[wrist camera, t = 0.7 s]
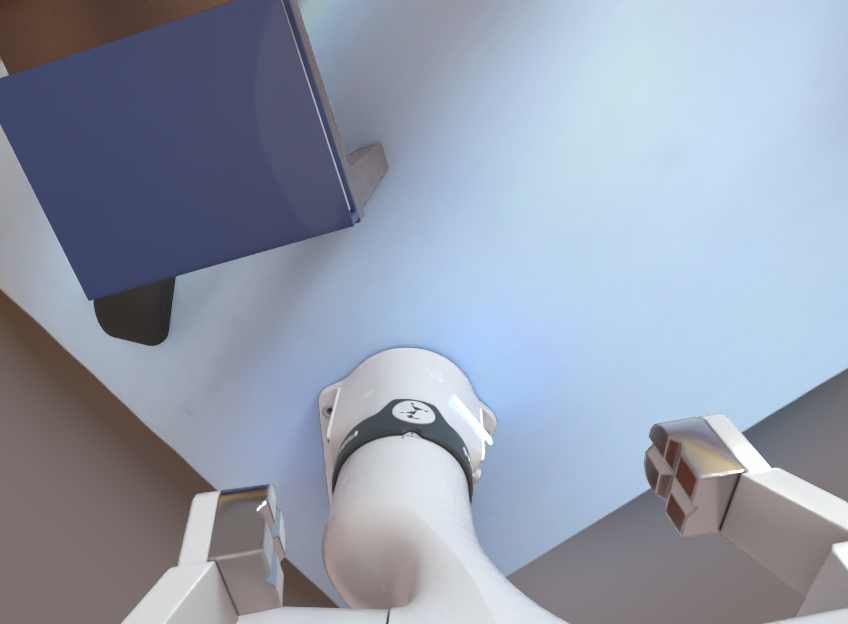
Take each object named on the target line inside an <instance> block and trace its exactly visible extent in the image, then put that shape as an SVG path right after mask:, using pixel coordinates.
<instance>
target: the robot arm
mask: <svg viewBox="0 0 848 624" xmlns="http://www.w3.org/2000/svg"><path fill="white" fill-rule="evenodd" d="M318 404H319V413H320V422H321V432H322V441H323V450H324V460H325V469H326V478H327V488H328V497H329V505H330V510H329V514H328V518H327V522H326V526H325V530H324V534H323V539H322V557H323V562H324V566H325V569H326V572H327V574H328V577H329V579H330V580H331V582H332V584H333V586H334V588H335V589H336V591H337V592H338V594H339V595H340V597H341V598H342V599H343V601H344V602H345V603H346V604H347V605H348V607H349V608H350V609H349V608H313V607H282V600H283V584H284V575H283V571H282V568H281V565H280V562H281V561H282V559H283V558H284V557H285V544H286V541H285V526H284V521H283V516H282V512H281V509H279V508H277V507H276V496H277V495H276V492H275V489H274V486H273V484H266V485H258V486H251V487H243V488H235V489H227V490H222V491H214V492H207V493H200V494H196V495H195V497H194V499H193V500H192V503H191V508H190V512H189V517H188V521H187V525H186V530H185V534H184V539H183V543H182V547H181V552H180V556H179V561H178V565H177V567H173V568H169V569H168V570H167V572H166V573H165V574H164V575H163V576H162V577H161V578H160V580H159V581H158V582H157V583H156V584H155V585H154V587H153V588H152V589H151V590H150V591H149V592H148V593H147V594H146V596H145V597H144V598H143V599H142V600H141V601H140V602H139V603H138V605H137V606H136V607H135V608H134V609H133V610H132V612H131V613H130V614H129V615H128V616H127V617H126V618H125V619H124V621H123V622H122V623H121V624H570V623H568V622H566V621H564V620H562V619H560V618H559V617H557V616H555V615H553V614H552V613H550V612H548V611H547V610H545V609H543V608H542V607H540V606H539V605H538V604H536V603H535V602H533V601H532V600H531V599H529V598H528V597H526V596H525V595H524V594H523V593H522V592H521V591H519V590H518V589H517V588H516V587H514V586H513V585H512V584H511V583H510V582H509V581H508V580H507V579H506V578H505V577H504V576H503V575H502V574H501V573H500V572H499V571H498V570H497V568H496V567H495V566H494V565H493V564H492V562H491V561H490V560H489V559H488V558H487V556H486V555H485V553H484V552H483V550H482V549H481V547H480V545H479V543H478V540H477V536H476V532H475V528H474V524H473V519H472V514H471V504H472V500H473V485H474V482H478V481H479V479H480V475H481V469H480V468H478V466H479V463H480V462H482V461H484V458H485V450H486V448H487V446H488V444H490V445H491V444H493V442H492V438H491V437H492V435H493V433H494V431H495V429H496V416H495V415H494V413H493V412H492V411H491V410H490V409H489V408H488V407H487V406H485V405H484V404H483V403H482V402H481V401H479V399H478V398H477V396H476V394H475V392H474V390H473V388H472V386H471V384H470V382H469V380H468V379H467V377H466V376H465V375H464V373H463V372H462V371H461V370H460V369H459V368H458V367H457V366H456V365H455V364H454V363H452V362H451V361H450V360H448V359H446V358H445V357H443V356H441V355H439V354H437V353H434V352H431V351H428V350H424V349H419V348H395V349H390V350H386V351H383V352H380V353H378V354H375V355H373V356H371V357H370V358H368V359H367V360H365V361H364V362H362V363H361V364H360V365H359V366H358V367H357V368H356V369H355V370H354V371H353V372H352V373H351V374H350V375H349V376H348V377H346V378H345V379H344V380H342V381H339V382H337V383H334V384H332V385H330V386H328V387H326V388H324V389H323V390H322V391H321V392H320V394H319V400H318ZM330 407H331V408H333V410H332V411H329V410H328V408H330ZM649 438H650V439H651V441H652V442H653V445H652V446H651V447H650V448H649V449H648V450H647V451H646V453H645V459H644V467H645V474H646V477H647V480H648V482H649V485H650V487H651V488H652V490H653V492H654V494H656V495H657V496H659V497H660V498H662V499H663V500H665V501H667V505H666V510H665V512H666V514H667V515H668V517H669V518H670V520H671V522H672V523H673V525H674V527H675V528H676V530H677V531H678V533H679V535H680V537H681V538H682V537H689V536H696V535H703V534H710V533H716V532H720V535H721V536H723V537H724V538H725V539H727V540H728V541H730V542H731V543H732V544H734V545H735V546H737V547H738V548H739V549H740V550H742V551H743V552H744V553H746V554H747V555H748V556H750V557H751V558H752V559H754V560H755V561H757V562H758V563H759V564H761V565H762V566H763V567H765V568H766V569H767V570H769V571H770V572H771V573H773V574H774V575H775V576H777V577H778V578H779V579H781V580H782V581H783V582H785V583H786V584H788V585H789V586H790V587H792V588H793V589H794V590H796V591H797V592H799V593H800V594H801V595H802V596H804V599H803V601H802V603H801V605H800V606H799V608H798V610H797V612H796V614H795V617H794V618H791V619H785V620H780V621H775V622H770V623H765V624H848V502H845V501H844V500H842V499H840V498H838V497H836V496H833V495H832V494H830V493H828V492H826V491H823V490H822V489H819V488H818V487H816V486H814V485H812V484H810V483H808V482H806V481H804V480H802V479H800V478H798V477H796V476H794V475H792V474H790V473H788V472H786V471H784V470H782V469H780V468H771V467H770V466H769V465H768V464H767V462H766V461H765V460H764V459H763V458H762V457H761V456H760V455H759V453H758V452H757V451H756V450H755V448H754V447H753V446H752V445H751V444H750V443H749V442H748V440H747V439H746V438H745V437H744V436H743V434H742V433H741V432H740V431H739V430H738V429H737V427H736V426H735V425H734V424H733V423H732V422H731V420H730V419H729V418H728V417H727V416H725V415H723V414H722V413H720V414H714V415H708V416H701V417H698V418H697V417H694V418H688V419H682V420H676V421H670V422H664V423H658V424H654V425H653V427H652V428H651V430H650V435H649Z"/></svg>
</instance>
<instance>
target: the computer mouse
mask: <svg viewBox="0 0 848 624" xmlns="http://www.w3.org/2000/svg"><path fill="white" fill-rule="evenodd" d="M174 284H175V277H171V278H168V279H164V280H161V281H157V282H153V283H150V284H146V285H143V286H139V287H136V288H132V289H129V290H125V291H122V292H118V293H115V294H111V295H107V296H104V297H100V298H97V299H94V309H95V313H96V317H97V320H98V322H99V324H100V326H101V327H102V329H103V330H104V331H105V332H106V333H107V334H108V335H110V336H112V337H115V338H120V339H124V340H128V341H132V342H136V343H140V344H144V345H148V346H154V345H158V344H160V343H161V342H163V341H164V340H165V339H166V338H167V336H168V330H169V323H170V315H171V307H172V299H173V292H174Z"/></svg>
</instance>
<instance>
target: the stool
mask: <svg viewBox="0 0 848 624" xmlns="http://www.w3.org/2000/svg"><path fill="white" fill-rule="evenodd" d="M232 1H235V0H0V57H1V59H2V61H3V63H4V65H5V67H6V69H7V71H8V74H9V75H12V74H15V73H18V72H21V71H24V70H27V69H30V68H33V67H36V66H39V65H42V64H45V63H48V62H51V61H54V60H57V59H60V58H63V57H66V56H69V55H72V54H75V53H78V52H81V51H84V50H87V49H90V48H93V47H96V46H99V45H102V44H105V43H108V42H111V41H114V40H117V39H120V38H123V37H126V36H129V35H133V34H136V33H139V32H142V31H145V30H148V29H151V28H154V27H157V26H160V25H163V24H166V23H169V22H172V21H175V20H178V19H181V18H184V17H187V16H190V15H193V14H196V13H199V12H202V11H205V10H208V9H211V8H214V7H217V6H220V5H223V4H226V3H229V2H232ZM289 1H290V4H291V7H292V10H293V13H294V16H295V19H296V22H297V26H298V29H299V32H300V35H301V38H302V41H303V44H304V47H305V50H306V54H307V57H308V60H309V63H310V66H311V69H312V72H313V75H314V78H315V82H316V85H317V88H318V91H319V94H320V97H321V100H322V103H323V106H324V110H325V113H326V116H327V119H328V122H329V125H330V128H331V131H332V134H333V138H334V141H335V144H336V147H337V150H338V153H339V156H340V159H341V162H342V166H343V169H344V172H345V175H346V178H347V181H348V184H349V187H350V190H351V194H352V197H353V200H354V203H355V206H356V209H357V212H358V215H359V218H358V220H357V221H356V223H359V222H360V221H361V220H362V218H363V216H364V211H363V207H364V205H365V204H366V202H367V201H368V199H369V197H370V196H371V194H372V193H373V191H374V190H375V188H376V187H377V185H378V184H379V182H380V181H381V179H382V178H383V176H384V175H385V173H386V171H387V170H388V165H387V161H386V158H385V155H384V151H383V148H382V144H381V143H378V144H374V145H371V146H368V147H364V148H361V149H357V150H355V151H354V152H352V153H350V154H349V155H347V156H346V155H345V152H344V148H343V145H342V142H341V139H340V136H339V133H338V129H337V126H336V123H335V120H334V117H333V114H332V111H331V107H330V104H329V101H328V98H327V95H326V92H325V89H324V85H323V82H322V79H321V76H320V73H319V70H318V67H317V63H316V60H315V57H314V54H313V51H312V48H311V45H310V41H309V38H308V35H307V32H306V29H305V26H304V23H303V19H302V16H301V13H300V10H299V7H298V4H297V1H296V0H289Z"/></svg>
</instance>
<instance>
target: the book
mask: <svg viewBox="0 0 848 624" xmlns="http://www.w3.org/2000/svg"><path fill="white" fill-rule="evenodd" d="M0 124H1V126H2V128H3V130H4V132H5V134H6V136H7V138H8V140H9V142H10V144H11V146H12V148H13V150H14V152H15V154H16V156H17V158H18V160H19V162H20V164H21V166H22V168H23V170H24V172H25V174H26V176H27V178H28V180H29V182H30V184H31V186H32V188H33V190H34V192H35V194H36V196H37V198H38V200H39V202H40V204H41V206H42V208H43V210H44V212H45V214H46V216H47V218H48V220H49V222H50V224H51V226H52V228H53V230H54V232H55V234H56V236H57V238H58V240H59V242H60V244H61V246H62V248H63V250H64V252H65V254H66V256H67V258H68V260H69V262H70V264H71V266H72V268H73V270H74V272H75V274H76V276H77V278H78V280H79V282H80V284H81V286H82V288H83V290H84V292H85V294H86V296H87V298H88V300H89V301H90V300H93V299H97V298H100V297H104V296H107V295H111V294H115V293H118V292H122V291H125V290H129V289H132V288H136V287H139V286H143V285H146V284H150V283H153V282H157V281H161V280H164V279H168V278H171V277H175V276H178V275H182V274H185V273H189V272H192V271H196V270H199V269H203V268H207V267H210V266H214V265H217V264H221V263H224V262H228V261H231V260H235V259H238V258H242V257H245V256H249V255H253V254H256V253H260V252H263V251H267V250H270V249H274V248H277V247H281V246H284V245H288V244H291V243H295V242H299V241H302V240H306V239H309V238H313V237H316V236H320V235H323V234H327V233H330V232H334V231H337V230H341V229H345V228H348V227H352V226H354V224H355V223H356V221H357V220H358V218H359V215H358V212H357V209H356V206H355V203H354V200H353V197H352V194H351V190H350V187H349V184H348V181H347V178H346V175H345V172H344V169H343V166H342V162H341V159H340V156H339V153H338V150H337V147H336V144H335V141H334V138H333V134H332V131H331V128H330V125H329V122H328V119H327V116H326V113H325V110H324V106H323V103H322V100H321V97H320V94H319V91H318V88H317V85H316V82H315V78H314V75H313V72H312V69H311V66H310V63H309V60H308V57H307V54H306V50H305V47H304V44H303V41H302V38H301V35H300V32H299V29H298V26H297V22H296V19H295V16H294V13H293V10H292V7H291V4H290V1H289V0H235V1H232V2H229V3H226V4H223V5H220V6H217V7H214V8H211V9H208V10H205V11H202V12H199V13H196V14H193V15H190V16H187V17H184V18H181V19H178V20H175V21H172V22H169V23H166V24H163V25H160V26H157V27H154V28H151V29H148V30H145V31H142V32H139V33H136V34H133V35H129V36H126V37H123V38H120V39H117V40H114V41H111V42H108V43H105V44H102V45H99V46H96V47H93V48H90V49H87V50H84V51H81V52H78V53H75V54H72V55H69V56H66V57H63V58H60V59H57V60H54V61H51V62H48V63H45V64H42V65H39V66H36V67H33V68H30V69H27V70H24V71H21V72H18V73H15V74H12V75H9V76H6V77H3V78H0Z"/></svg>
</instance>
